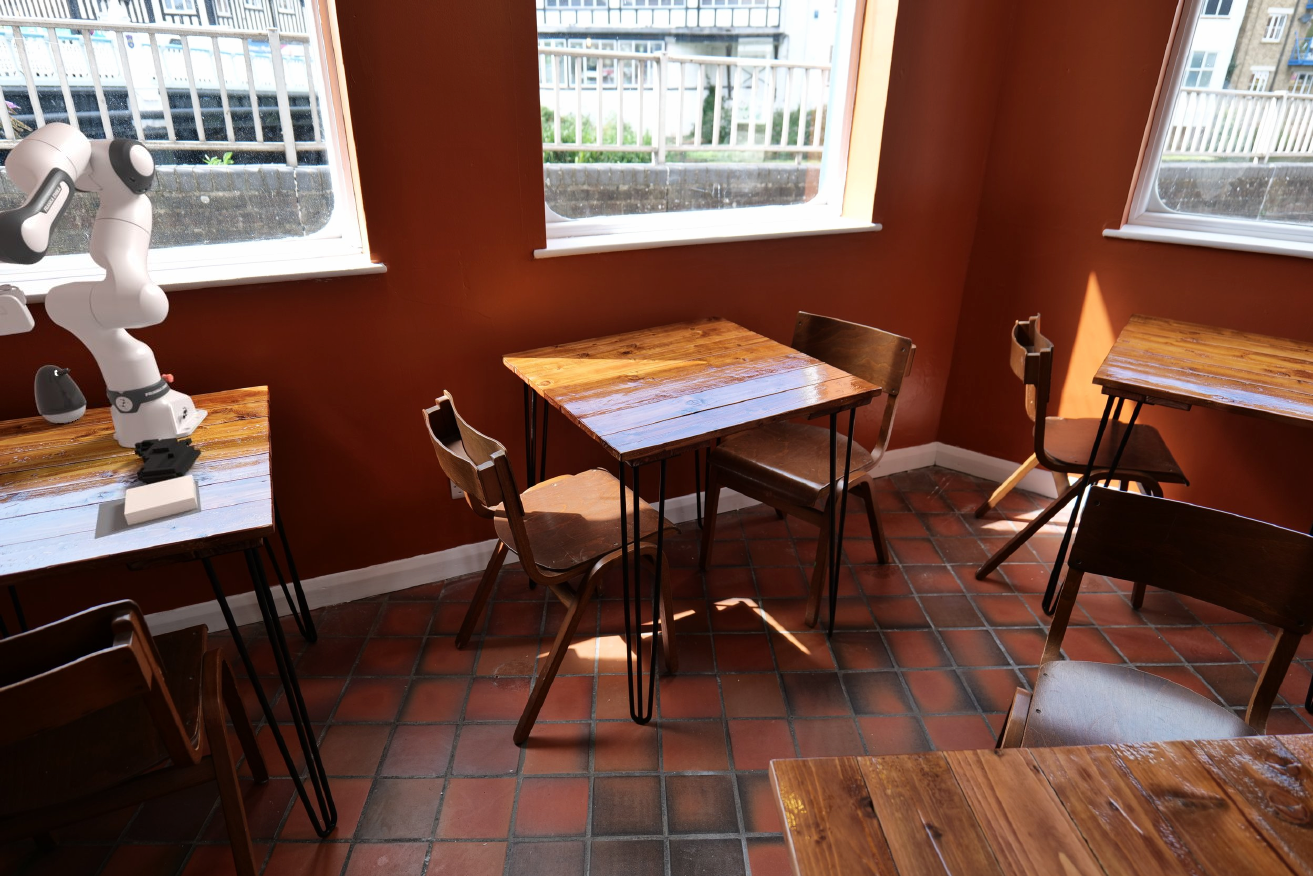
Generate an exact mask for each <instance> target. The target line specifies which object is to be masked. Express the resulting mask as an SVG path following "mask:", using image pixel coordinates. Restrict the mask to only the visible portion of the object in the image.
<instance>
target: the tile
mask: <svg viewBox="0 0 1313 876" xmlns="http://www.w3.org/2000/svg"><path fill="white" fill-rule="evenodd" d="M194 481H195V480H194V476H193V474H188V475H184V476H183V477H179V478H175V479H171V480H166V481H162V482H158V483H153V484H149V485H146V484H144V485H142V486H141V485H140V486H137V487H133V488H128V489H126V491H125V498H126V500H125V512H124V515H125V518H126V520H127V523H128V525H132V524H136V523H140V522H144V521H148V520H152V519H156V518H160V517H164V516H168V515H172V514H176V513H180V512H184V511H188V510H192V509H196V508H198V506H197V495H196V485H195V482H194Z"/></svg>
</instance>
